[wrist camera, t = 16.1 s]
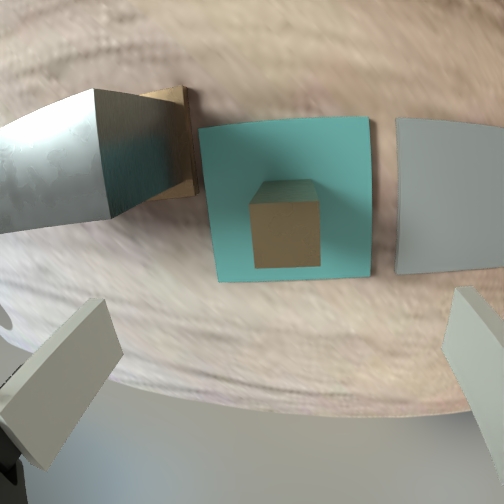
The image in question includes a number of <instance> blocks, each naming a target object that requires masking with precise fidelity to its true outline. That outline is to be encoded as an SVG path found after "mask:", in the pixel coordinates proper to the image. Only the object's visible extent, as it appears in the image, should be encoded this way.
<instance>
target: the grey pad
mask: <svg viewBox="0 0 504 504" xmlns="http://www.w3.org/2000/svg"><path fill="white" fill-rule="evenodd" d="M395 120H396V137H397V162H398V213H397V239H396V256H395V269H394V271H395V273H396V274H397V275H403V274H419V273H433V272H447V271H460V270H472V269H484V268H496V267H504V128H502V127H495V126H488V125H481V124H473V123H464V122H455V121H444V120H432V119H417V118H395Z"/></svg>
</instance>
